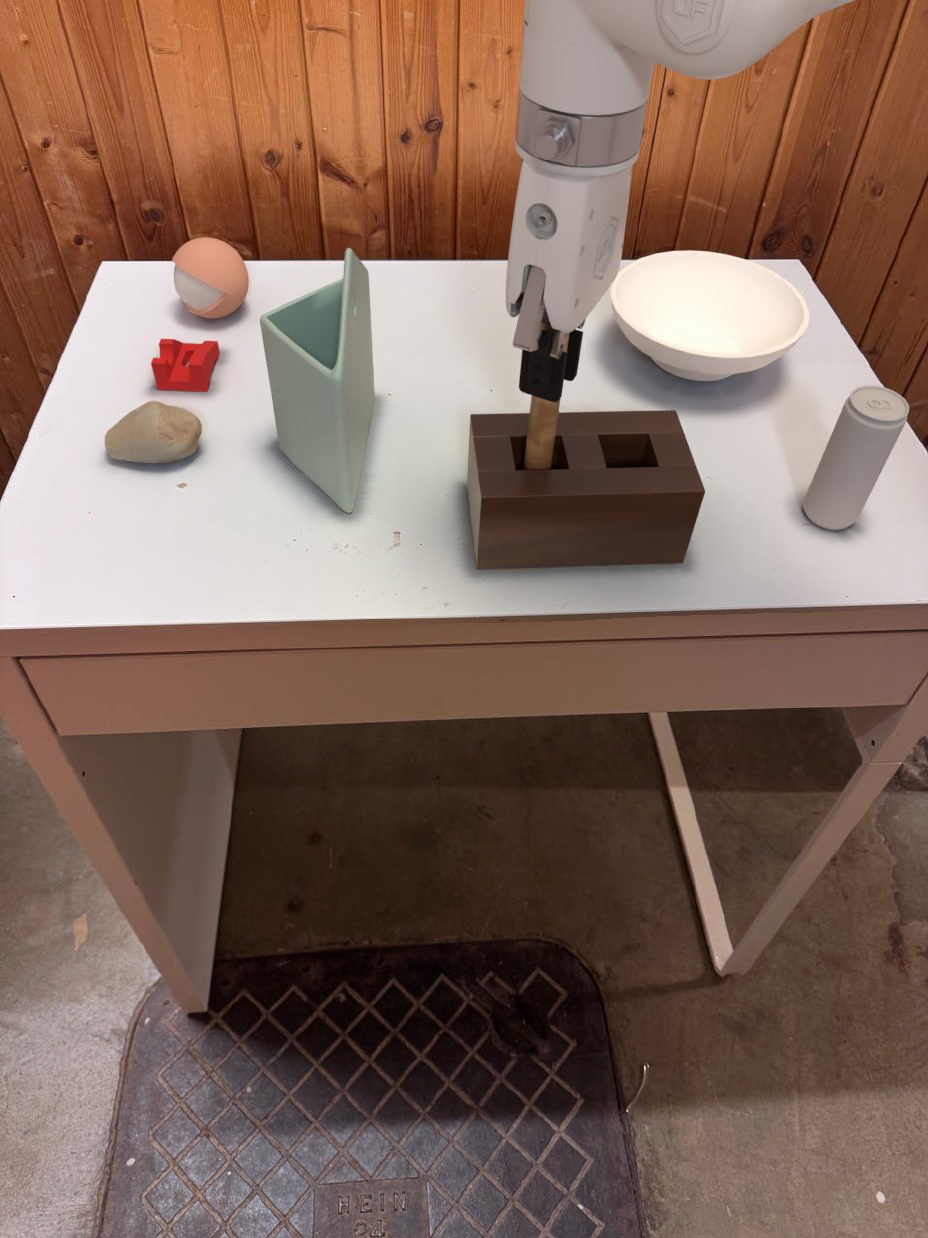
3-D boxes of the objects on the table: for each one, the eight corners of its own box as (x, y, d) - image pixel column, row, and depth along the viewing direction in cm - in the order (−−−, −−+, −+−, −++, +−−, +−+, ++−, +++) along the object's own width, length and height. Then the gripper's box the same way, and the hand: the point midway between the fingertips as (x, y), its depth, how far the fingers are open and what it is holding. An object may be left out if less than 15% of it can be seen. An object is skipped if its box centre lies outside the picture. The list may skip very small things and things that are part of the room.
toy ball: (166, 307, 99) (149, 236, 93) (229, 284, 103) (217, 215, 97) (203, 341, 96) (188, 270, 90) (267, 316, 99) (257, 246, 93)
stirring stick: (546, 521, 80) (576, 314, 65) (536, 536, 79) (564, 329, 64) (523, 512, 81) (547, 305, 65) (513, 528, 79) (535, 320, 64)
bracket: (207, 391, 90) (201, 365, 88) (157, 389, 90) (150, 363, 88) (219, 353, 94) (214, 327, 92) (172, 351, 94) (166, 325, 92)
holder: (683, 563, 77) (705, 491, 71) (476, 569, 76) (481, 497, 70) (657, 481, 84) (676, 409, 78) (466, 486, 83) (470, 413, 77)
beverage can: (794, 495, 83) (841, 383, 74) (847, 496, 84) (900, 384, 74) (808, 532, 80) (858, 420, 71) (863, 533, 80) (919, 422, 71)
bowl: (594, 404, 91) (604, 343, 86) (605, 299, 104) (615, 240, 98) (795, 428, 90) (818, 368, 84) (782, 319, 102) (801, 261, 97)
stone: (156, 502, 84) (213, 443, 81) (94, 461, 80) (152, 398, 77) (159, 465, 89) (213, 408, 86) (101, 425, 85) (156, 365, 83)
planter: (294, 393, 90) (269, 192, 75) (375, 398, 90) (365, 198, 75) (261, 508, 80) (224, 300, 65) (353, 513, 80) (336, 307, 65)
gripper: (589, 193, 49) (552, 462, 63) (681, 91, 58) (631, 345, 72) (462, 160, 51) (453, 428, 65) (571, 67, 60) (543, 318, 74)
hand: (547, 382), depth 69 cm, fingers closed on stirring stick, 2 cm apart
